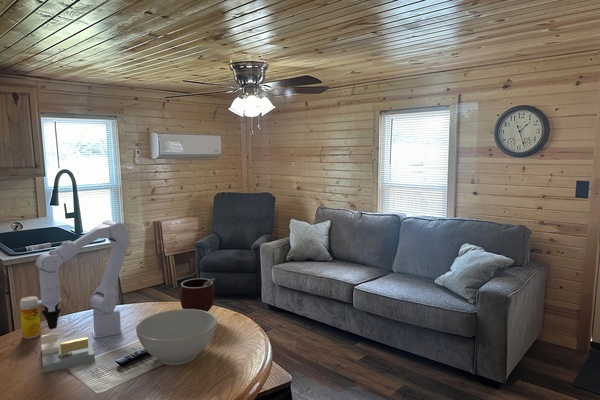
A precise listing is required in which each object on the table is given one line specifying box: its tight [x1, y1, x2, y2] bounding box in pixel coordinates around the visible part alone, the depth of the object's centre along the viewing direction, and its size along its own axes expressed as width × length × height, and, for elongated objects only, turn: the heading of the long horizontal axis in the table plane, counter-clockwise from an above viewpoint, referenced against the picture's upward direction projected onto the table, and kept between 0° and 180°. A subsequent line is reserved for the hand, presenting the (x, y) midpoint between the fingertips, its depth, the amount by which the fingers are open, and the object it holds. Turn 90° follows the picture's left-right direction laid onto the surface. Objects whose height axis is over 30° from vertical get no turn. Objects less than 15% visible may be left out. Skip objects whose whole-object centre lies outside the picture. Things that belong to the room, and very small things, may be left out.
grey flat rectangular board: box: [41, 333, 96, 374], centre depth 146 cm, size 15×19×3 cm
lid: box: [40, 332, 59, 356], centre depth 145 cm, size 5×8×4 cm, turn 33°
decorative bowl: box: [135, 308, 218, 366], centre depth 145 cm, size 27×27×12 cm
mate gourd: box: [179, 277, 216, 312], centre depth 173 cm, size 16×14×20 cm
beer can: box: [19, 295, 42, 340], centre depth 160 cm, size 6×6×15 cm
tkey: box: [60, 337, 88, 356], centre depth 142 cm, size 8×2×4 cm, turn 123°
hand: (52, 324), depth 148 cm, fingers open, 7 cm apart
